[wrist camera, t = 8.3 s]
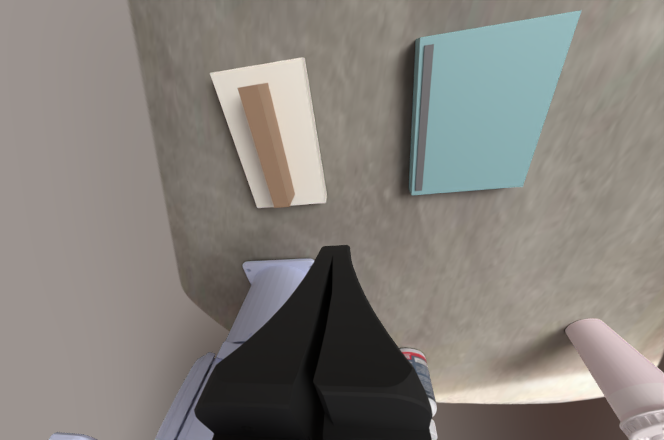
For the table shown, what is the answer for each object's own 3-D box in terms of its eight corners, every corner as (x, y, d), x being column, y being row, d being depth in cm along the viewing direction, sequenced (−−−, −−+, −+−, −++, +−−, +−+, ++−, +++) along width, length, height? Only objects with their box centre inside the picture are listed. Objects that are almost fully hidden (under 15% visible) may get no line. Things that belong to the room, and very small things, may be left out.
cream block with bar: (327, 196, 20) (323, 215, 18) (262, 201, 21) (248, 221, 19) (304, 58, 15) (294, 56, 12) (218, 72, 16) (191, 73, 13)
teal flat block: (513, 179, 18) (523, 187, 17) (408, 188, 20) (411, 195, 19) (564, 14, 13) (583, 10, 12) (415, 39, 14) (420, 37, 13)
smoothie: (543, 342, 30) (666, 522, 18) (564, 311, 26) (731, 508, 15) (602, 343, 29) (770, 532, 17) (631, 310, 25) (866, 519, 14)
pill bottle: (408, 342, 32) (425, 425, 25) (432, 357, 34) (454, 440, 26) (379, 355, 34) (386, 434, 27) (402, 369, 36) (415, 447, 29)
